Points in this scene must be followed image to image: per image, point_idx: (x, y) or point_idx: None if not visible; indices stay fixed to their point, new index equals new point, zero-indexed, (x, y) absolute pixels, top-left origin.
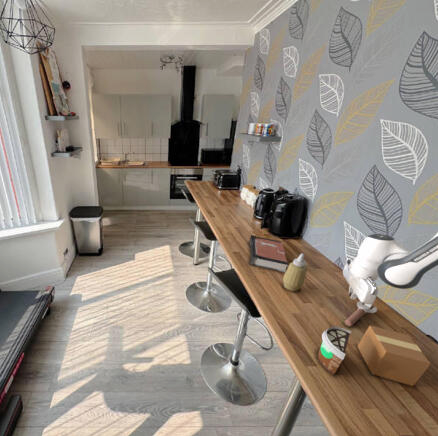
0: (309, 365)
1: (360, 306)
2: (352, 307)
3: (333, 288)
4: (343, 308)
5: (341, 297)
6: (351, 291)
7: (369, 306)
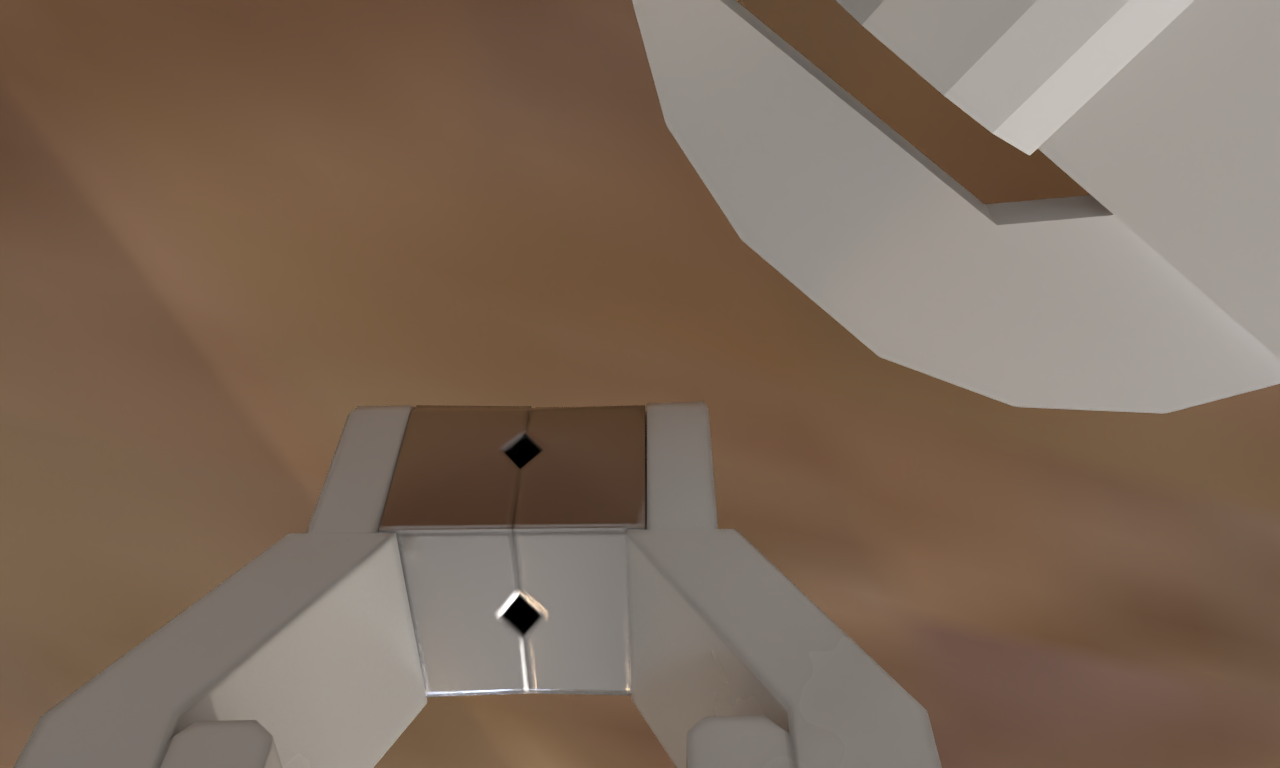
0: None
1: (1190, 334)
2: (1052, 429)
3: (70, 664)
4: (1167, 677)
5: None
6: (382, 681)
7: None
